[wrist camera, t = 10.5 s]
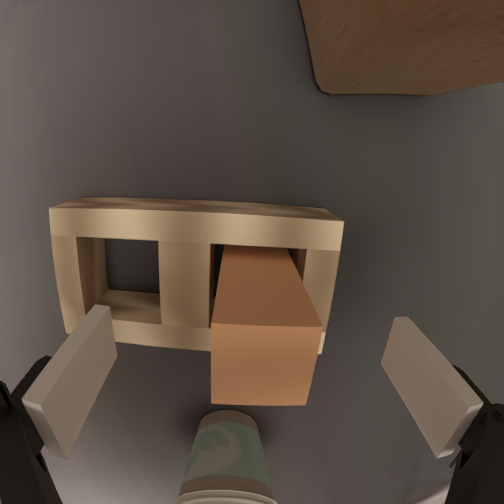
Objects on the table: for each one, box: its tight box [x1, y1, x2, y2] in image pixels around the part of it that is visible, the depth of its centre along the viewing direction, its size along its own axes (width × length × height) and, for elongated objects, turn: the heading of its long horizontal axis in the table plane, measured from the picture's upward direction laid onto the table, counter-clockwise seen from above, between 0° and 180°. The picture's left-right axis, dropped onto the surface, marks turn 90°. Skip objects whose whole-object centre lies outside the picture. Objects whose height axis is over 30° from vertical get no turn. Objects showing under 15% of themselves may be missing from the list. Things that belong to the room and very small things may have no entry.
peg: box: [211, 244, 323, 406], centre depth 17 cm, size 4×4×12 cm
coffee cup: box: [173, 410, 277, 504], centre depth 22 cm, size 8×8×12 cm
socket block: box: [49, 197, 344, 354], centre depth 21 cm, size 18×9×4 cm, turn 86°
